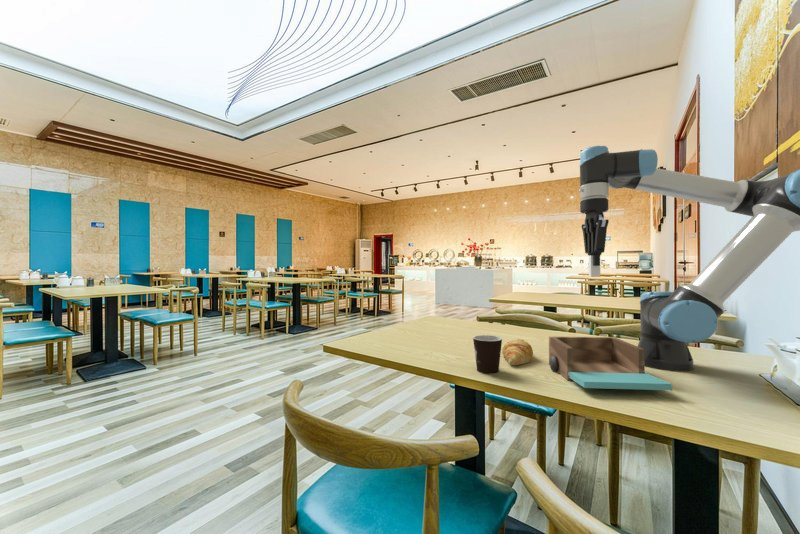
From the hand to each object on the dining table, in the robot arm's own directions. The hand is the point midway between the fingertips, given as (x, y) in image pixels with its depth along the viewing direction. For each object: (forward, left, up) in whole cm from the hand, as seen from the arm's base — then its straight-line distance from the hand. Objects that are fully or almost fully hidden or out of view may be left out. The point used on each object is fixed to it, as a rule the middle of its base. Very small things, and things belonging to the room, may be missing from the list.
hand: (594, 276), depth 106 cm
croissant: (+21, -10, -29) cm, 37 cm away
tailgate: (+2, +12, -26) cm, 29 cm away
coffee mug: (+32, +2, -29) cm, 43 cm away
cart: (+2, +3, -28) cm, 29 cm away
